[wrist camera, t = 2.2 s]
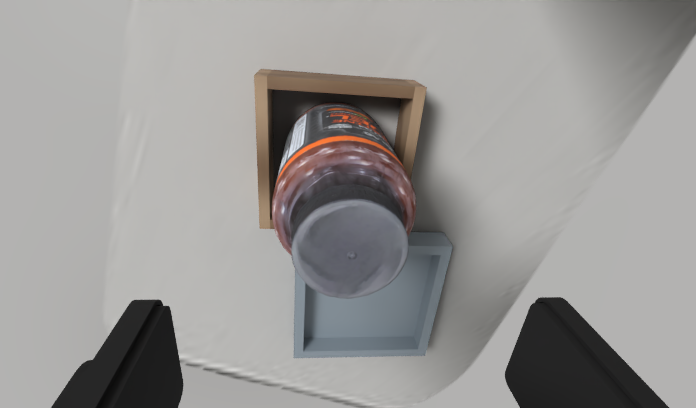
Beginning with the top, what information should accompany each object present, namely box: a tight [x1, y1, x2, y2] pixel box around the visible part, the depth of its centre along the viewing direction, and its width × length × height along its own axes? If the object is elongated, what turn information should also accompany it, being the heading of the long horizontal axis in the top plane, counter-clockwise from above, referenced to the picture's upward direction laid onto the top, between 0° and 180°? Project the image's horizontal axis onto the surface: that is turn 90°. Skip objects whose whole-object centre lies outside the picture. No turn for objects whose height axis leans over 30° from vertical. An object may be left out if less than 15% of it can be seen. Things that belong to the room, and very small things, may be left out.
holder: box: [254, 69, 427, 229], centre depth 21 cm, size 9×9×2 cm
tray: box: [294, 232, 453, 358], centre depth 26 cm, size 10×10×2 cm
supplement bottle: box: [272, 102, 416, 299], centre depth 17 cm, size 6×6×11 cm
